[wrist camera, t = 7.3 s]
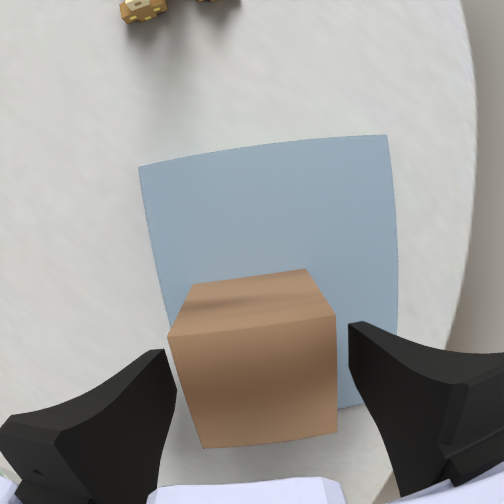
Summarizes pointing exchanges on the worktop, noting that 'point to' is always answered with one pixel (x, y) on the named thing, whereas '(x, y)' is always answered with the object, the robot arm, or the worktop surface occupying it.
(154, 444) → the robot arm
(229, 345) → the walnut cube
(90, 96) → the worktop surface
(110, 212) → the worktop surface
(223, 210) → the slate board
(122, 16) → the cream long lumpy piece
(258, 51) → the worktop surface
